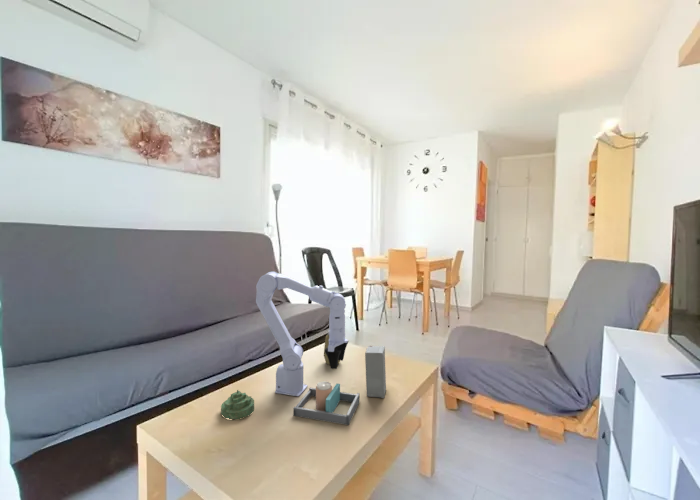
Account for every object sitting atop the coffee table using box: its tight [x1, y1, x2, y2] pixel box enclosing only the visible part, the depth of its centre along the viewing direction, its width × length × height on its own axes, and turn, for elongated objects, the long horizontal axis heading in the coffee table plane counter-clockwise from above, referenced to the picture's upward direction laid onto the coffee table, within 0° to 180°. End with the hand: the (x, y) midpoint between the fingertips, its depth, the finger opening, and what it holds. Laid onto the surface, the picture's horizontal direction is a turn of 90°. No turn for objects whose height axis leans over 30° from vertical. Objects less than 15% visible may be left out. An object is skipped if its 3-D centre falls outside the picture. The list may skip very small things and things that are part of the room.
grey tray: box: [292, 387, 360, 426], centre depth 104 cm, size 18×14×3 cm
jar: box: [315, 380, 333, 412], centre depth 104 cm, size 5×5×8 cm
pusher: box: [326, 383, 341, 413], centre depth 103 cm, size 1×11×6 cm, turn 165°
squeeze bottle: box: [323, 329, 341, 366], centre depth 140 cm, size 8×8×18 cm
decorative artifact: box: [220, 389, 255, 420], centre depth 102 cm, size 10×7×10 cm
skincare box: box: [364, 345, 387, 399], centre depth 114 cm, size 8×7×16 cm
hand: (337, 364), depth 116 cm, fingers open, 7 cm apart
